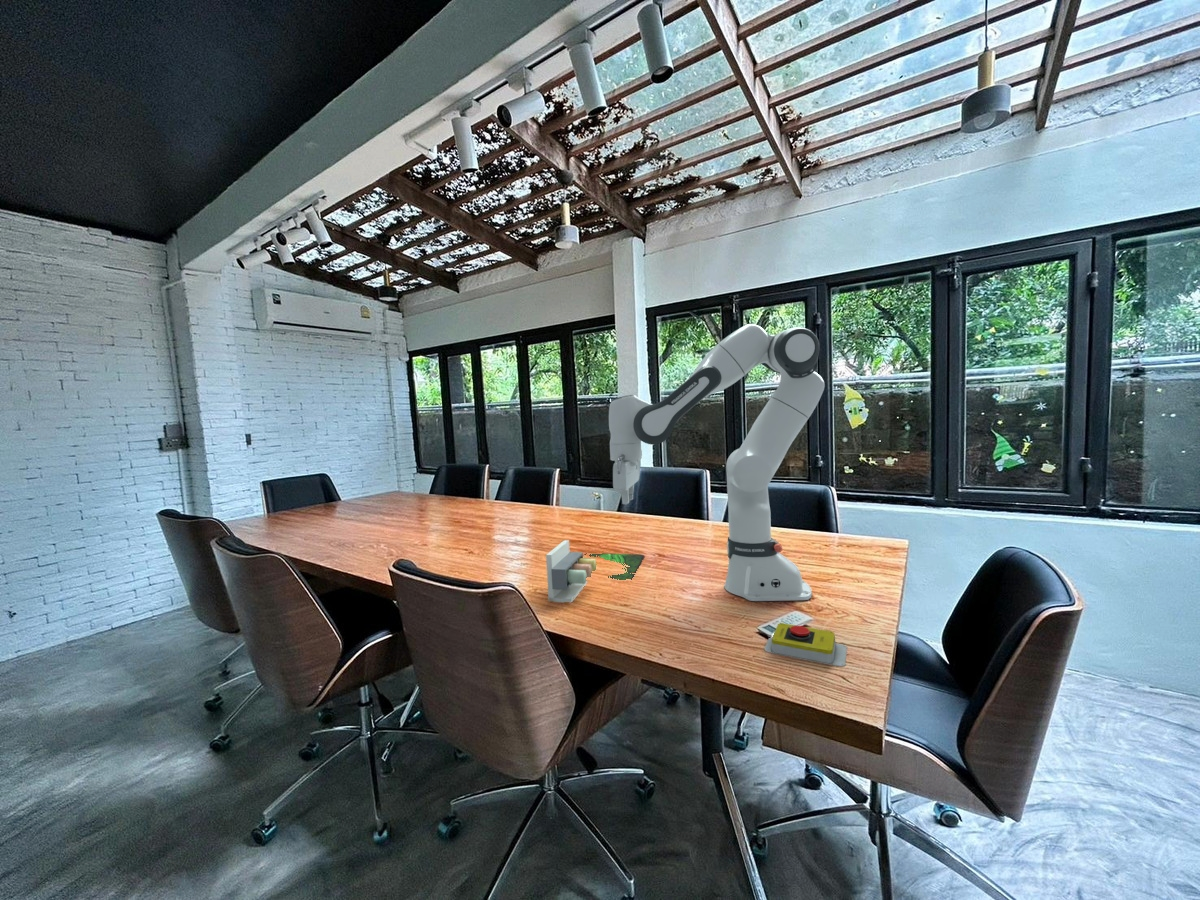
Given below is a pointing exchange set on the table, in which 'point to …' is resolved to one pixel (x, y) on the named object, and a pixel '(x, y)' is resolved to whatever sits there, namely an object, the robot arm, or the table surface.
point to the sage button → (576, 576)
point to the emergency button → (807, 644)
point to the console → (562, 573)
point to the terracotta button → (583, 568)
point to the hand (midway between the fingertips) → (627, 502)
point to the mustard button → (588, 562)
